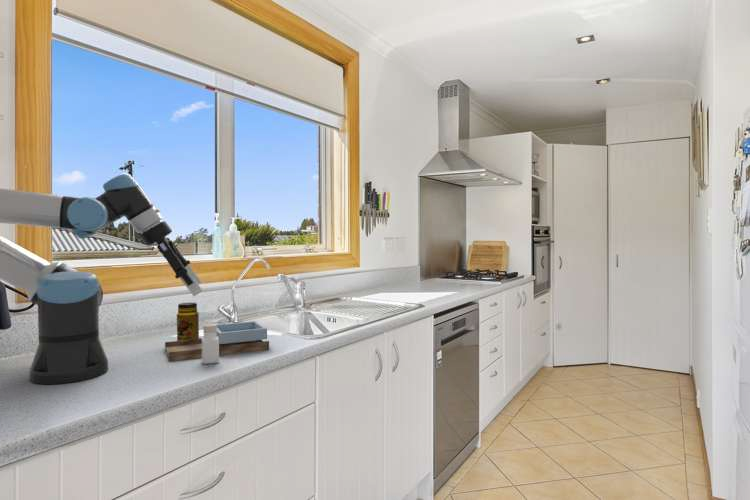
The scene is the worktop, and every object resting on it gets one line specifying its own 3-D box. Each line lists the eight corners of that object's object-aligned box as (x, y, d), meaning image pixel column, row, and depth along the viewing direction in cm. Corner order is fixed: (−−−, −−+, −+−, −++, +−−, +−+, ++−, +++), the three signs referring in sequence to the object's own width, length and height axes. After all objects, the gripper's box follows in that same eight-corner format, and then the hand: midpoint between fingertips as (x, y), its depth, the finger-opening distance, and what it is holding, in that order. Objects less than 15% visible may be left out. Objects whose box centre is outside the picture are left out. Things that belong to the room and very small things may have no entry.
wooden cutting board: (169, 361, 117) (168, 352, 117) (165, 349, 129) (164, 341, 129) (269, 349, 130) (269, 341, 130) (257, 339, 142) (257, 332, 141)
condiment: (174, 346, 133) (173, 305, 132) (177, 340, 141) (177, 301, 140) (200, 345, 135) (200, 304, 135) (202, 338, 143) (202, 300, 143)
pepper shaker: (201, 361, 118) (201, 324, 117) (218, 359, 119) (217, 323, 119) (202, 365, 114) (201, 327, 114) (219, 363, 115) (218, 325, 115)
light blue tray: (219, 350, 123) (219, 333, 123) (211, 341, 135) (211, 324, 135) (267, 345, 130) (267, 328, 129) (255, 336, 141) (255, 321, 141)
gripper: (161, 221, 115) (211, 289, 121) (166, 217, 138) (208, 274, 144) (133, 238, 113) (185, 306, 119) (143, 231, 136) (187, 288, 142)
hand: (198, 289), depth 131 cm, fingers open, 13 cm apart
